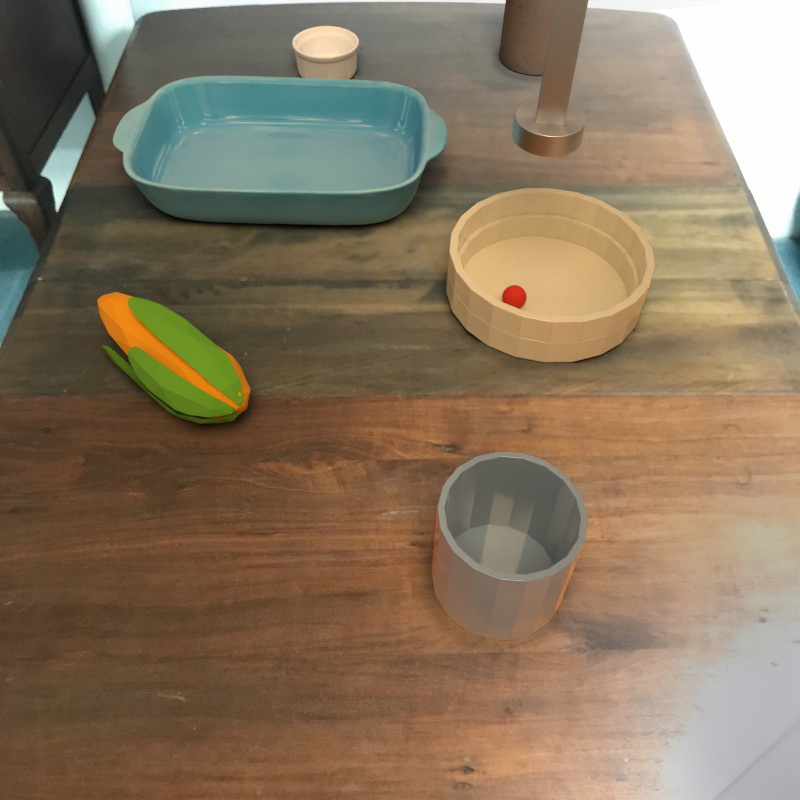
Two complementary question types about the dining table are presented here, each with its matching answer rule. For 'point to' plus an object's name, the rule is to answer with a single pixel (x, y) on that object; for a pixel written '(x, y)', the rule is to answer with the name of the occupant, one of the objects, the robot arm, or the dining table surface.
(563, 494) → the crock
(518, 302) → the cherry tomato
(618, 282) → the bowl
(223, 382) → the corn
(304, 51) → the ramekin
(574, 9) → the silver disc tamper
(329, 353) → the dining table surface
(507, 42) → the pillar candle
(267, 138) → the casserole dish
